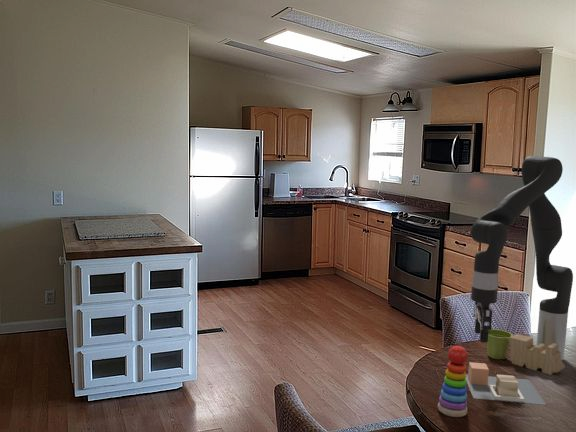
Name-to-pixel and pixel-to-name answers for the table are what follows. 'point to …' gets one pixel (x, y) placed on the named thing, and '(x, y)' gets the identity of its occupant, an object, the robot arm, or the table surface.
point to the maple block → (506, 385)
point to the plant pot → (498, 343)
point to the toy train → (535, 355)
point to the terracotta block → (478, 373)
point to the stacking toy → (454, 384)
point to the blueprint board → (524, 396)
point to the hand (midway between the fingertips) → (480, 337)
